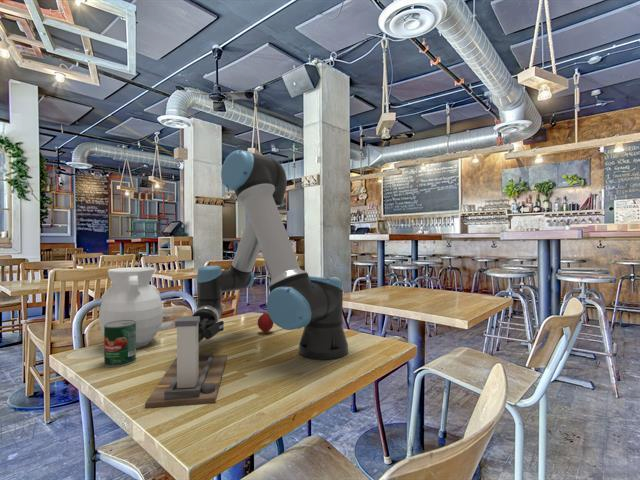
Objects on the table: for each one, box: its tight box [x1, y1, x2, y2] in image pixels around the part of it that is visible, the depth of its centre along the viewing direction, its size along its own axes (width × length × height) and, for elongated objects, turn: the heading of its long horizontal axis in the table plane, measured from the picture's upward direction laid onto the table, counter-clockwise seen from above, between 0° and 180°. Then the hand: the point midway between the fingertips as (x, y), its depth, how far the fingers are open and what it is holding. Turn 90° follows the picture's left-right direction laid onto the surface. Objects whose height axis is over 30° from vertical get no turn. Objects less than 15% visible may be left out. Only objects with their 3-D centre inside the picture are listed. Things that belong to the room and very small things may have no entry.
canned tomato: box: [103, 320, 137, 368], centre depth 100 cm, size 8×8×11 cm
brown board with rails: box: [144, 353, 228, 409], centre depth 88 cm, size 28×14×2 cm, turn 10°
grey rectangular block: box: [174, 315, 200, 388], centre depth 82 cm, size 5×5×15 cm
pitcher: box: [98, 266, 164, 349], centre depth 116 cm, size 19×18×25 cm
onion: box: [257, 310, 274, 334], centre depth 131 cm, size 6×6×8 cm
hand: (189, 343), depth 84 cm, fingers closed
